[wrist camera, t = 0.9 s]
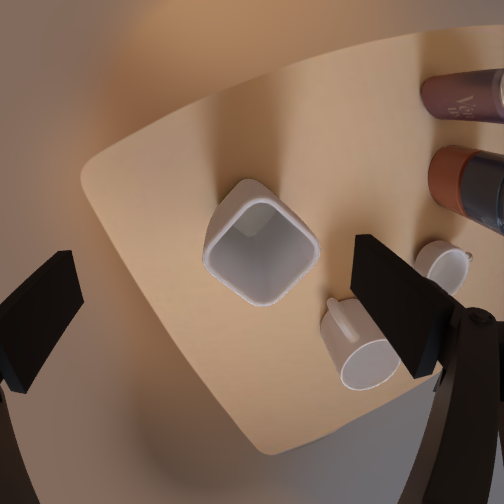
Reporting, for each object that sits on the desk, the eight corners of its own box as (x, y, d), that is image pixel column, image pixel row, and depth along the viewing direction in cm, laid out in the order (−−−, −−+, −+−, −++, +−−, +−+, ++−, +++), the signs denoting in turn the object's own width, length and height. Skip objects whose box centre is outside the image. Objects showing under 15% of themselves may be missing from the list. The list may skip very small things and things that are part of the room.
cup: (245, 164, 36) (259, 185, 22) (291, 205, 38) (330, 250, 24) (203, 211, 37) (192, 261, 23) (250, 249, 39) (265, 315, 25)
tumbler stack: (428, 142, 36) (505, 156, 23) (474, 147, 36) (547, 163, 23) (426, 209, 39) (495, 245, 26) (470, 207, 40) (537, 239, 26)
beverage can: (458, 104, 34) (537, 108, 20) (434, 127, 35) (516, 137, 21) (436, 69, 32) (515, 58, 18) (411, 90, 33) (491, 83, 19)
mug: (294, 301, 42) (313, 348, 33) (346, 266, 41) (378, 305, 32) (334, 352, 47) (356, 399, 37) (379, 322, 45) (409, 365, 36)
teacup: (408, 290, 44) (426, 308, 39) (404, 244, 41) (425, 259, 36) (458, 268, 43) (478, 282, 38) (457, 223, 41) (479, 235, 36)
